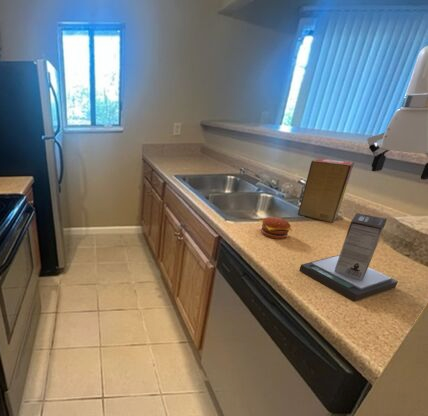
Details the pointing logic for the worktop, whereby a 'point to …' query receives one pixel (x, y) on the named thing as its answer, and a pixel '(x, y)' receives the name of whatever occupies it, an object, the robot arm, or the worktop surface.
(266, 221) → the hamburger
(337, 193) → the food packaging
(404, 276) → the worktop surface
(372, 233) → the coffee box
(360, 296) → the scale
